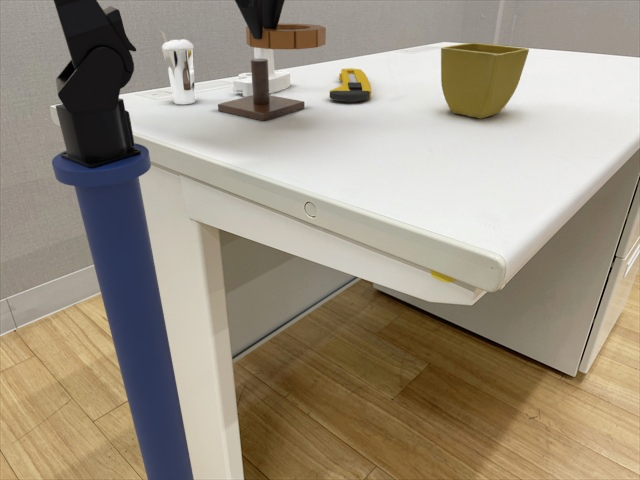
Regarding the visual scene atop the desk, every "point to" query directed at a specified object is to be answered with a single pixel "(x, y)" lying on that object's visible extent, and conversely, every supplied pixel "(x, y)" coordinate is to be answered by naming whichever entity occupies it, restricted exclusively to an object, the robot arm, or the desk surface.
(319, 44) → the brick ring
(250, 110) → the peg
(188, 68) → the milkshake
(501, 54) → the flower pot
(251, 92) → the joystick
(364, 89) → the utility knife
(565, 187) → the desk surface
